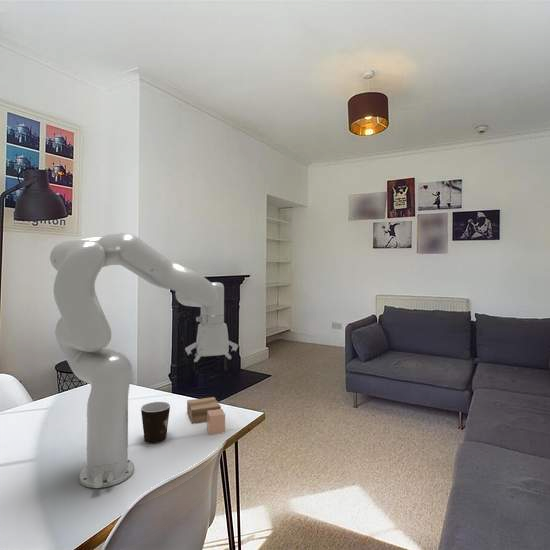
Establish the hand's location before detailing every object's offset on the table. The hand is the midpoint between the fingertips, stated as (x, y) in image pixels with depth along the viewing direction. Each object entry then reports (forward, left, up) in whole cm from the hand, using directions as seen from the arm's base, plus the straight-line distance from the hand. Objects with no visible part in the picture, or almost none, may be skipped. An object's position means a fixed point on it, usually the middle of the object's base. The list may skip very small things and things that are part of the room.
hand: (212, 371), depth 121 cm
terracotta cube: (-1, -1, -19) cm, 19 cm away
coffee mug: (-2, +19, -19) cm, 27 cm away
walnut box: (+12, +1, -19) cm, 23 cm away
